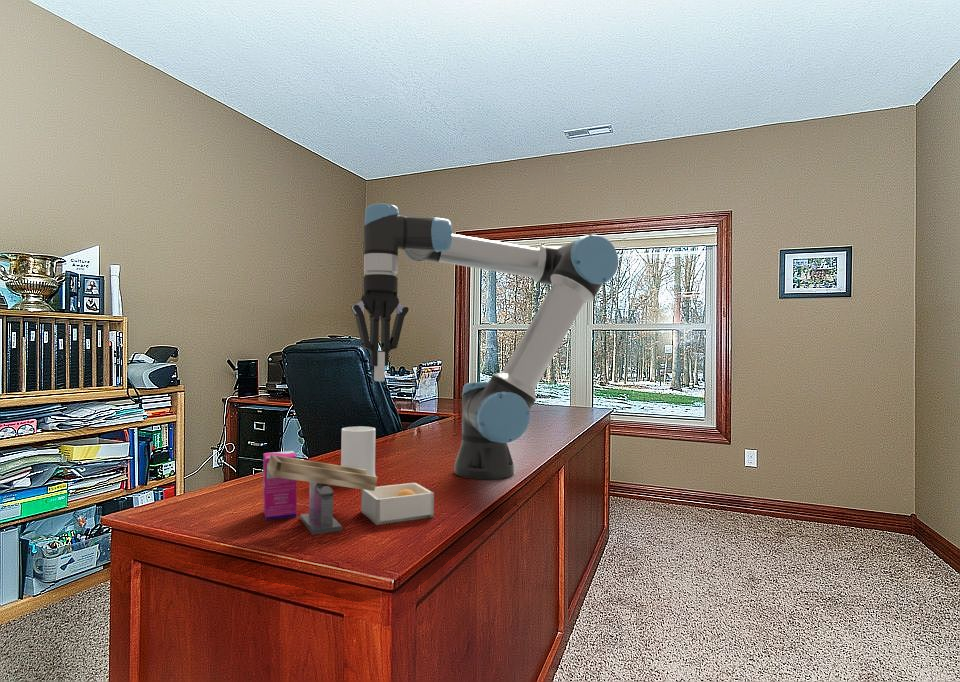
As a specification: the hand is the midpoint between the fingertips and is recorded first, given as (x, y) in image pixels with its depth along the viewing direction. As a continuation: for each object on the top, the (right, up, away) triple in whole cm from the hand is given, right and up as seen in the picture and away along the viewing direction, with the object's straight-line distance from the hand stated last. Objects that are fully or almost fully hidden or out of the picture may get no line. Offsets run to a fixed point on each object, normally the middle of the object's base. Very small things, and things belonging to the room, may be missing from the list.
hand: (379, 380), depth 128 cm
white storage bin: (+7, -24, -18) cm, 31 cm away
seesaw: (-8, -16, -22) cm, 28 cm away
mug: (-7, -25, +13) cm, 28 cm away
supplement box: (-16, -24, -19) cm, 35 cm away
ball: (+8, -22, -17) cm, 29 cm away
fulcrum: (-6, -24, -25) cm, 35 cm away
